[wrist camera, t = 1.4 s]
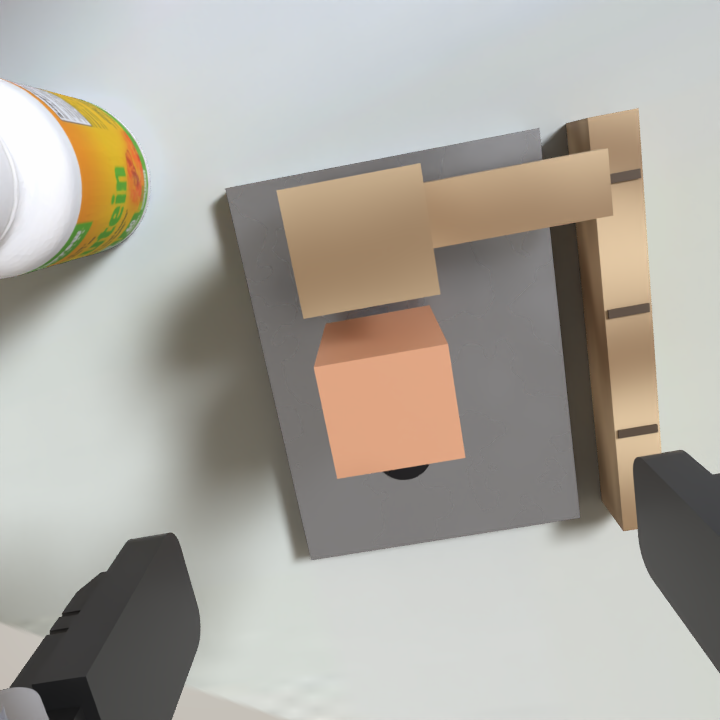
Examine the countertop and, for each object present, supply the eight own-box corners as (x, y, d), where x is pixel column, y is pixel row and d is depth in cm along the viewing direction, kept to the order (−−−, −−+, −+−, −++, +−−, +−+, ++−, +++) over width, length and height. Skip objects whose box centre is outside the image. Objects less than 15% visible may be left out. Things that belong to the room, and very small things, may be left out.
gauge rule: (304, 173, 24) (272, 173, 16) (611, 114, 23) (743, 82, 15) (377, 536, 28) (381, 686, 20) (641, 495, 27) (758, 632, 19)
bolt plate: (230, 187, 24) (224, 188, 23) (532, 130, 23) (539, 128, 22) (313, 546, 28) (311, 561, 27) (572, 505, 27) (580, 518, 26)
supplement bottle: (119, 278, 25) (-27, 340, 16) (-15, 208, 24) (-252, 230, 15) (178, 147, 24) (56, 129, 14) (38, 70, 23) (-185, 0, 14)
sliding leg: (328, 312, 24) (313, 367, 17) (424, 295, 24) (448, 343, 17) (345, 395, 25) (337, 478, 18) (438, 379, 24) (465, 458, 18)
